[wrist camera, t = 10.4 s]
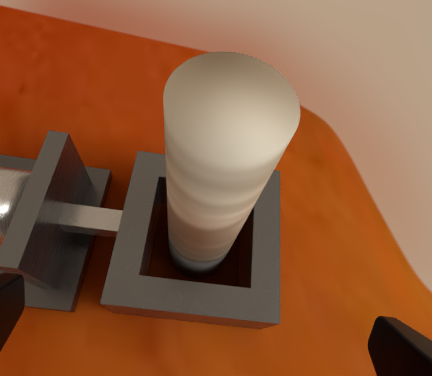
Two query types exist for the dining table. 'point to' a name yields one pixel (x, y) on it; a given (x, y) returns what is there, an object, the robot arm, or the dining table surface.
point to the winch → (124, 241)
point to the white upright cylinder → (220, 151)
